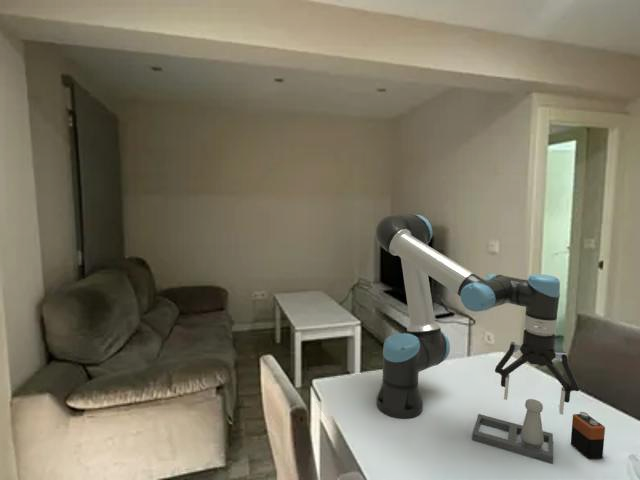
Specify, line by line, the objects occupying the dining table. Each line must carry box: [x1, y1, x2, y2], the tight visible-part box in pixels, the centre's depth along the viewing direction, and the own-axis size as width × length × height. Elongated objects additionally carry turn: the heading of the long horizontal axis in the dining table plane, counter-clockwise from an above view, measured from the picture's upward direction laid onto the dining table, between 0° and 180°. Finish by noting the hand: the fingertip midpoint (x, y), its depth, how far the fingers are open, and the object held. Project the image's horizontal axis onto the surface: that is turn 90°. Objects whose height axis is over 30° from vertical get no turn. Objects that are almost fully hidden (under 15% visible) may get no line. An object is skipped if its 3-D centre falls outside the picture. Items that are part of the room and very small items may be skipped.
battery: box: [570, 411, 606, 460], centre depth 106 cm, size 4×7×10 cm, turn 5°
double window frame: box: [471, 413, 554, 465], centre depth 111 cm, size 20×12×2 cm, turn 60°
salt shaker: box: [519, 398, 544, 449], centre depth 108 cm, size 6×6×13 cm
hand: (532, 404), depth 108 cm, fingers open, 13 cm apart
